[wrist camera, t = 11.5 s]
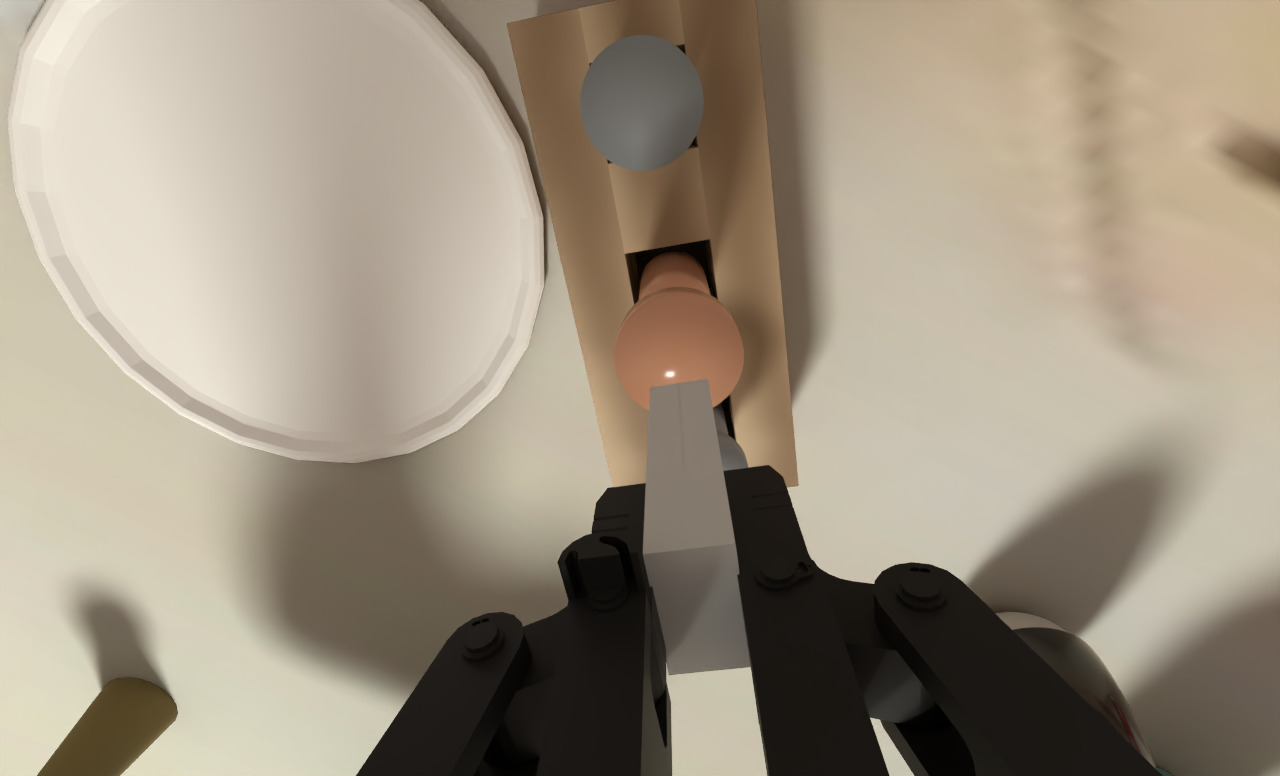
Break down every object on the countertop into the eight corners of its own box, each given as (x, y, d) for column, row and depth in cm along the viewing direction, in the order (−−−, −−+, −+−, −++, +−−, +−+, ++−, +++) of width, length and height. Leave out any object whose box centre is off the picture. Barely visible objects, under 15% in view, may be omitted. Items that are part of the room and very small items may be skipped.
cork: (87, 685, 51) (-55, 827, 41) (149, 671, 50) (20, 813, 40) (131, 734, 53) (7, 879, 43) (192, 722, 52) (80, 868, 42)
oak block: (624, 455, 40) (618, 509, 35) (534, 38, 31) (506, 23, 25) (779, 433, 39) (798, 485, 34) (736, -4, 30) (753, -30, 24)
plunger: (612, 160, 32) (593, 180, 23) (595, 66, 31) (567, 49, 21) (696, 144, 32) (711, 159, 23) (684, 48, 30) (694, 22, 21)
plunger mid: (637, 333, 31) (627, 425, 22) (620, 246, 30) (602, 308, 20) (724, 319, 31) (750, 407, 22) (712, 230, 29) (736, 286, 20)
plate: (308, 525, 44) (299, 536, 43) (-82, 165, 34) (-107, 167, 33) (649, 299, 36) (648, 305, 35) (269, -239, 27) (252, -254, 26)
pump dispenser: (896, 630, 46) (998, 857, 32) (1033, 565, 43) (1211, 783, 29) (957, 710, 49) (1075, 948, 35) (1089, 654, 46) (1273, 889, 32)
